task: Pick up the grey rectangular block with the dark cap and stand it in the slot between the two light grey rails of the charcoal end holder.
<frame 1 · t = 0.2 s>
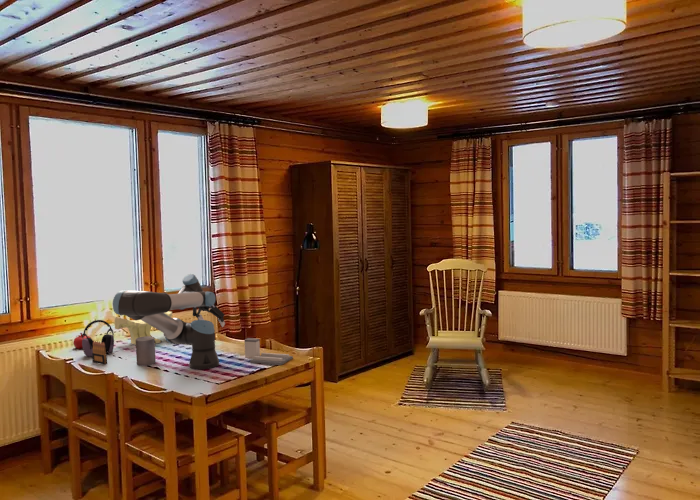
hand: (213, 324, 334), 15 cm above the table, tool tilted 35°, fingers open, 13 cm apart
ammunition clip: (99, 363, 315), on the table
grey rectangular block: (252, 357, 319), on the table
end holder: (271, 360, 310), on the table
pomegranate: (82, 348, 353), on the table
pillar candle: (146, 363, 312), on the table
slatted curved stool: (145, 342, 362), on the table
headphones: (99, 354, 335), on the table
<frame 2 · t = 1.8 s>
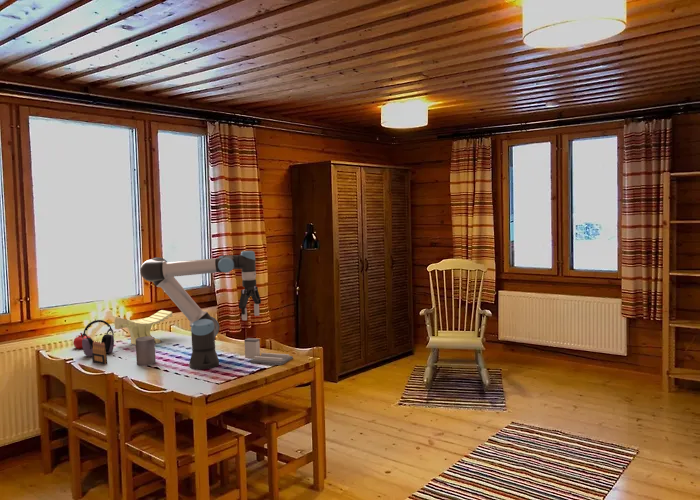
hand: (250, 317, 317), 22 cm above the table, tool pointing down, fingers open, 13 cm apart
nothing on the table moved.
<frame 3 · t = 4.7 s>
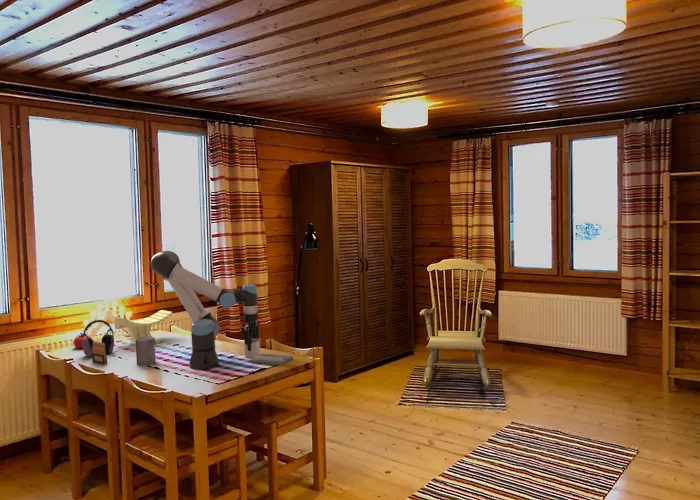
hand: (252, 354, 319), 1 cm above the table, tool pointing down, fingers closed on grey rectangular block, 4 cm apart
grey rectangular block: (252, 357, 319), on the table, touching gripper
everything else where it was.
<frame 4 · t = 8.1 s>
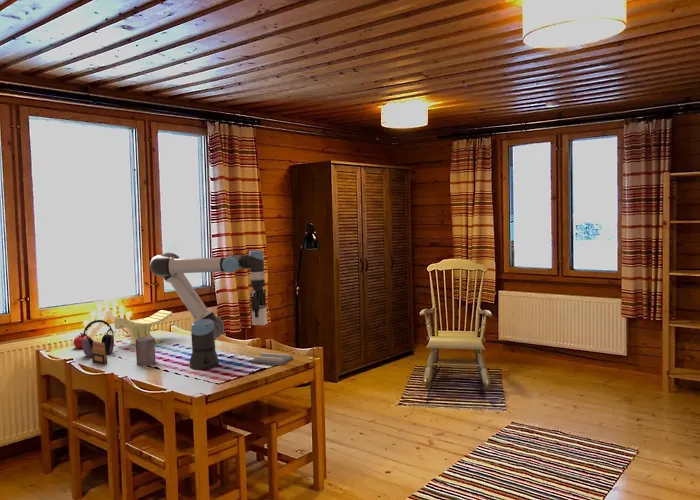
hand: (259, 322, 314), 20 cm above the table, tool pointing down, fingers closed on grey rectangular block, 4 cm apart
grey rectangular block: (259, 324, 314), point 19 cm above the table, touching gripper
everything else where it was.
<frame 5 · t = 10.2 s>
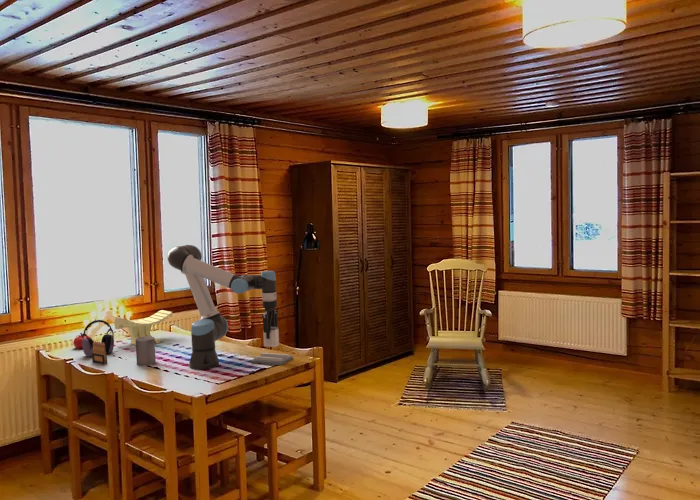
hand: (271, 343, 309), 9 cm above the table, tool pointing down, fingers closed on grey rectangular block, 4 cm apart
grey rectangular block: (271, 345, 309), point 8 cm above the table, touching gripper
everything else where it was.
when the fingers open (5 cm above the table, at t = 11.7 s): grey rectangular block drops 2 cm, resting on end holder.
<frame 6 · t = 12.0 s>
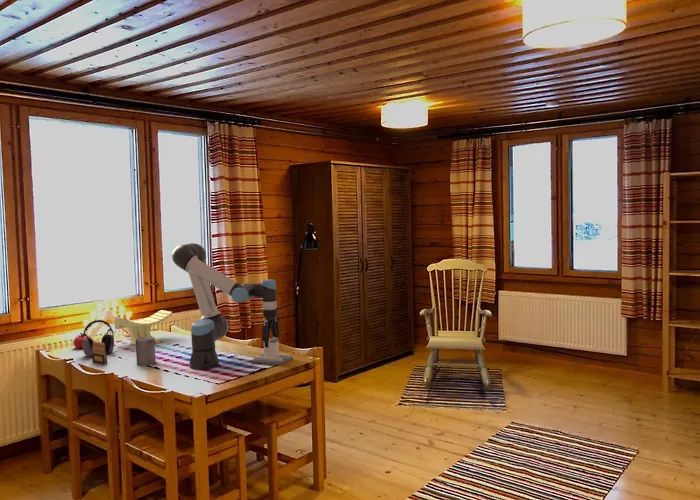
hand: (271, 351, 310), 5 cm above the table, tool pointing down, fingers open, 8 cm apart
grey rectangular block: (271, 358, 310), point 1 cm above the table, touching end holder
everything else where it was.
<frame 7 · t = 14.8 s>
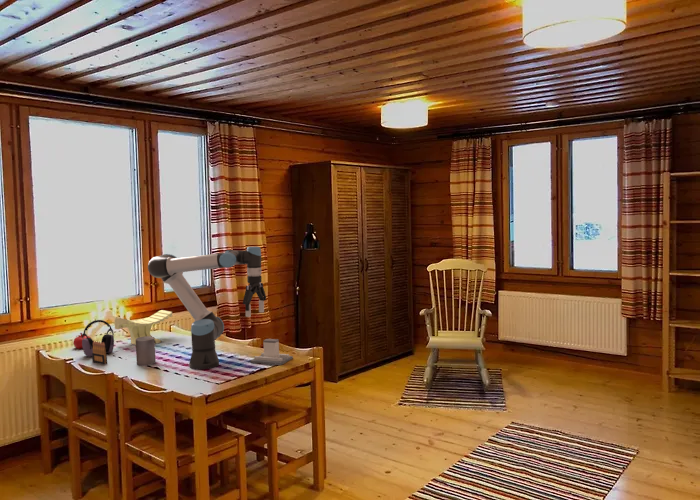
hand: (255, 314, 313), 24 cm above the table, tool pointing down, fingers open, 13 cm apart
nothing on the table moved.
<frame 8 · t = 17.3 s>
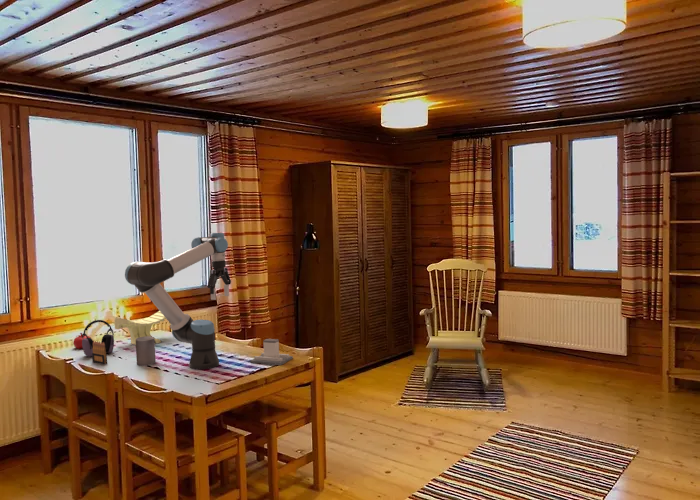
hand: (220, 297, 327), 32 cm above the table, tool pointing down, fingers open, 13 cm apart
nothing on the table moved.
at the end: grey rectangular block inside the target area on the end holder (0.1 cm from its centre), point 1.2 cm above the end holder's base; grey rectangular block tilted 0°; the gripper is holding nothing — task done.
